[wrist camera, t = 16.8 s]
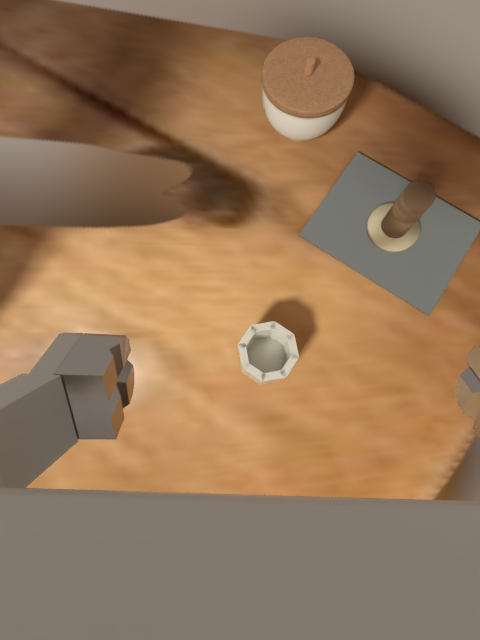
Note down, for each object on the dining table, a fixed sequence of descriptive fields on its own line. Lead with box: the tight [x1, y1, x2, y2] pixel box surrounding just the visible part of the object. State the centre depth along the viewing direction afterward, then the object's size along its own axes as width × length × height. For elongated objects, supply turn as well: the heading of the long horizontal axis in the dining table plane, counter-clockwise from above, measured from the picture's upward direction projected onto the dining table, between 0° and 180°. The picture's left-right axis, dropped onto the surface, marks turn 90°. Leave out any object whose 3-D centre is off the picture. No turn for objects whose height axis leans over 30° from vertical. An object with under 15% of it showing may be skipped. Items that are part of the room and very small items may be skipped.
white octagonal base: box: [238, 321, 299, 385], centre depth 43 cm, size 6×6×4 cm
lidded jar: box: [262, 37, 354, 141], centre depth 48 cm, size 11×11×9 cm
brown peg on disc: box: [366, 181, 436, 253], centre depth 45 cm, size 6×6×8 cm
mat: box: [299, 152, 480, 315], centre depth 49 cm, size 18×14×1 cm
